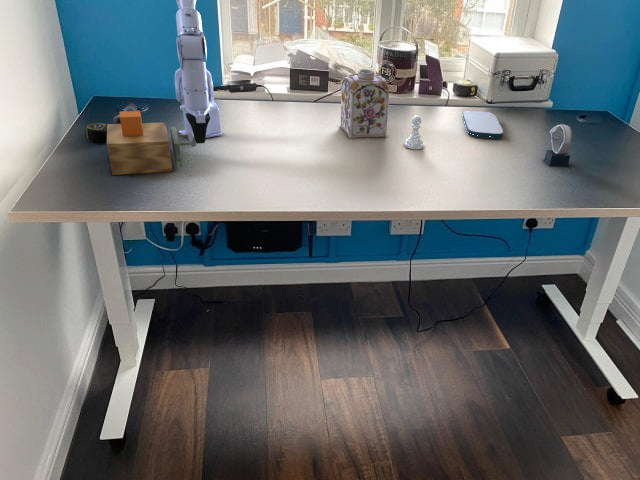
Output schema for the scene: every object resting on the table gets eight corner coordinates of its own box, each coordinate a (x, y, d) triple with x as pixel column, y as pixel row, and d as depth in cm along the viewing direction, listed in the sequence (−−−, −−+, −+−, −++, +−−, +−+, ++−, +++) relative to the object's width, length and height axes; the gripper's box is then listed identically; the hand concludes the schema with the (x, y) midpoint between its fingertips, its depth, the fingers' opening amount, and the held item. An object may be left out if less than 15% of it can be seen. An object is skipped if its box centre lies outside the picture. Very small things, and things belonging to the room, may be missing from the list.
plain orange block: (142, 129, 148) (140, 110, 146) (143, 135, 145) (140, 116, 142) (122, 130, 147) (119, 111, 144) (122, 136, 143) (119, 117, 141)
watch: (559, 158, 177) (568, 121, 171) (570, 168, 170) (579, 130, 164) (541, 157, 176) (549, 120, 170) (551, 168, 169) (560, 129, 163)
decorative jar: (375, 125, 190) (379, 66, 181) (387, 137, 181) (392, 75, 171) (338, 126, 187) (341, 66, 177) (349, 138, 177) (351, 75, 168)
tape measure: (114, 143, 159) (111, 130, 157) (85, 144, 157) (83, 130, 155) (115, 135, 165) (113, 121, 163) (88, 136, 163) (85, 122, 161)
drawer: (193, 147, 159) (191, 125, 156) (199, 165, 149) (197, 142, 146) (126, 150, 154) (122, 128, 151) (127, 169, 143) (123, 146, 140)
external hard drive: (504, 140, 187) (505, 134, 186) (467, 137, 186) (468, 131, 185) (493, 118, 207) (494, 112, 206) (460, 115, 206) (461, 109, 205)
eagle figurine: (148, 128, 168) (144, 113, 174) (130, 109, 163) (126, 94, 168) (125, 143, 168) (122, 127, 174) (107, 124, 163) (104, 108, 169)
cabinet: (168, 150, 158) (164, 122, 154) (172, 171, 147) (168, 141, 143) (112, 153, 154) (107, 124, 150) (112, 175, 142) (106, 144, 138)
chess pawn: (406, 142, 178) (409, 112, 173) (423, 145, 178) (426, 114, 173) (403, 148, 174) (406, 117, 169) (420, 150, 173) (424, 119, 169)
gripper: (175, 80, 150) (181, 133, 157) (180, 96, 139) (186, 153, 146) (204, 80, 152) (209, 132, 159) (212, 96, 141) (216, 151, 148)
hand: (200, 142), depth 153 cm, fingers closed, pressing on drawer
